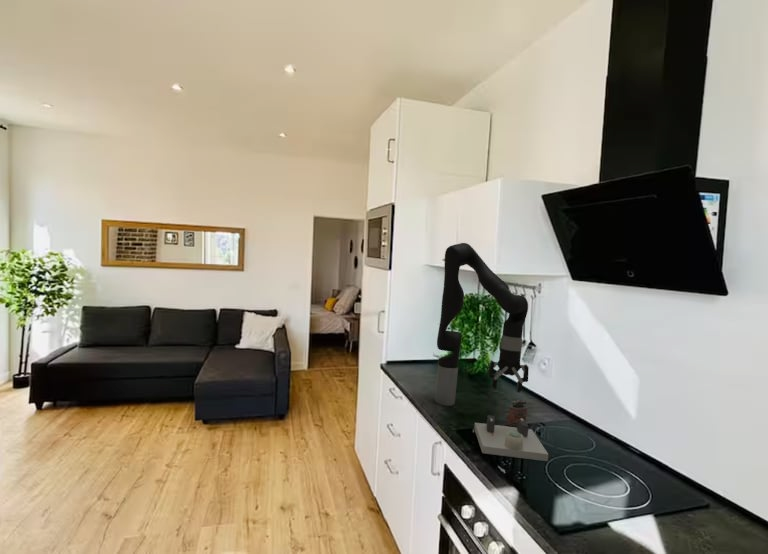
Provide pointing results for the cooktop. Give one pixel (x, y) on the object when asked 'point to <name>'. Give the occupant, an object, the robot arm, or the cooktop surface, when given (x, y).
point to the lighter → (517, 412)
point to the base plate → (500, 440)
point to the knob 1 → (490, 423)
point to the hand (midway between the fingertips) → (506, 390)
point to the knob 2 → (522, 427)
